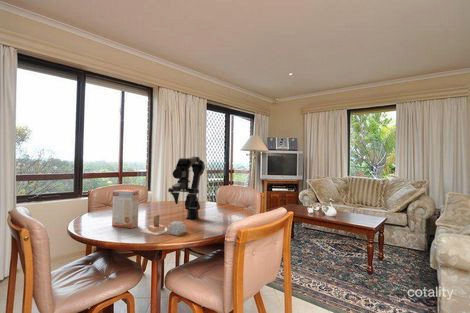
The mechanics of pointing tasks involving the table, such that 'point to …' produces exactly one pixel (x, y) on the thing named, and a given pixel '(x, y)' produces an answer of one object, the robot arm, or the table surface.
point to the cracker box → (125, 208)
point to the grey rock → (176, 228)
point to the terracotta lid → (156, 225)
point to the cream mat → (153, 232)
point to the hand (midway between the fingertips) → (182, 204)
